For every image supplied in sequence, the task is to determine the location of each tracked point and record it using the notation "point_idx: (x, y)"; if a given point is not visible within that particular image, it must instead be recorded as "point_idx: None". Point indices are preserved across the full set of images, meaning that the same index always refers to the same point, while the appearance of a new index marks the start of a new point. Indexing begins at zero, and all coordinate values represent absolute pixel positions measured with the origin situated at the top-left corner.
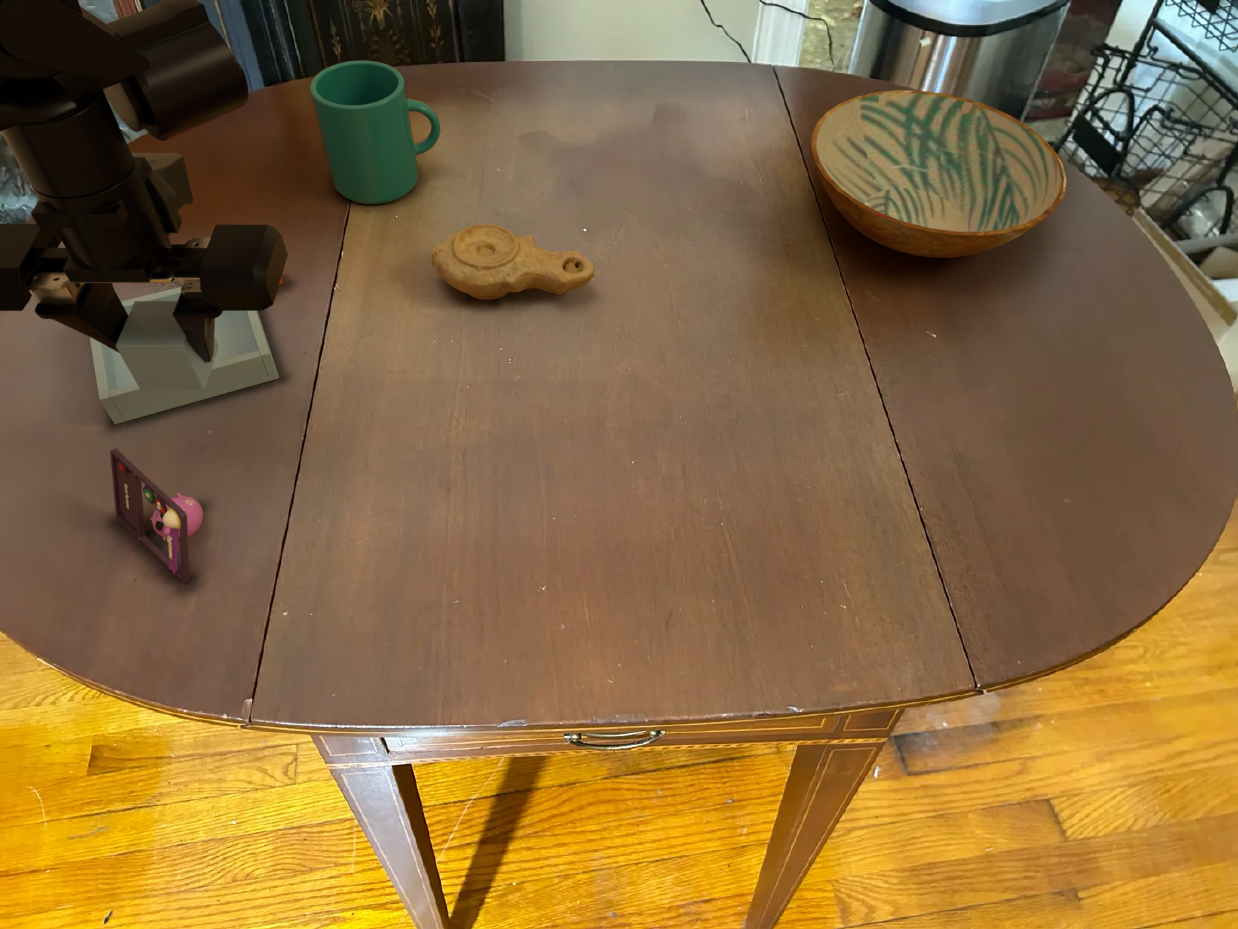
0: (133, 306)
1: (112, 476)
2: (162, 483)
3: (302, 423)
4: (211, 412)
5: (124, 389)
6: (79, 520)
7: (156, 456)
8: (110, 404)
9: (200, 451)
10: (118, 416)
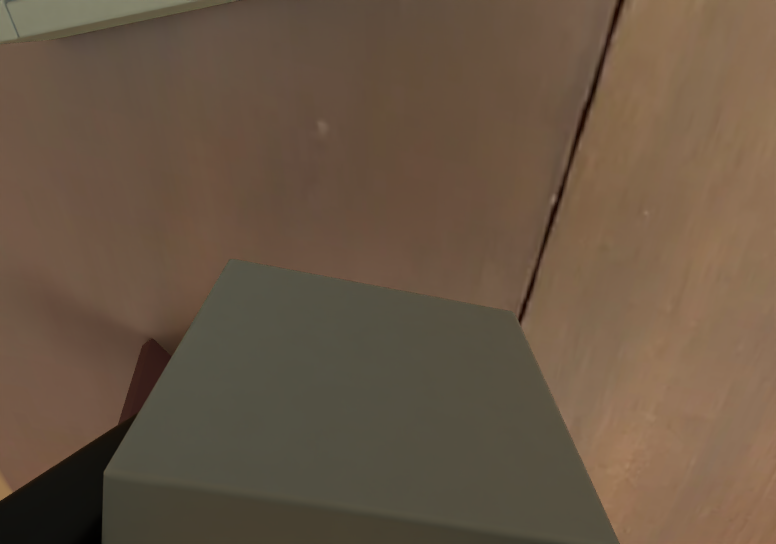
0: (111, 529)
1: (129, 387)
2: (224, 267)
3: (560, 147)
4: (321, 49)
5: (58, 10)
6: (63, 329)
7: (195, 182)
8: (27, 39)
9: (303, 189)
10: (58, 36)
